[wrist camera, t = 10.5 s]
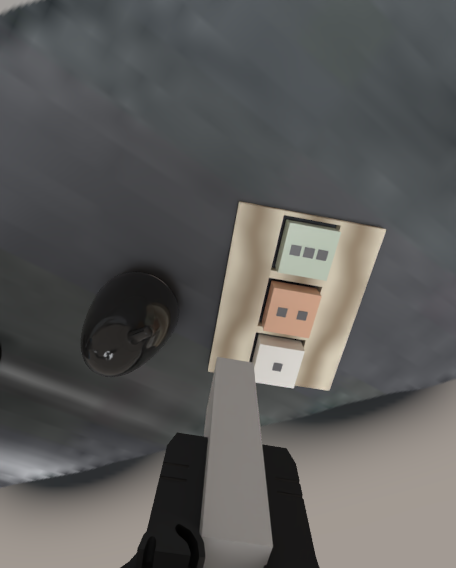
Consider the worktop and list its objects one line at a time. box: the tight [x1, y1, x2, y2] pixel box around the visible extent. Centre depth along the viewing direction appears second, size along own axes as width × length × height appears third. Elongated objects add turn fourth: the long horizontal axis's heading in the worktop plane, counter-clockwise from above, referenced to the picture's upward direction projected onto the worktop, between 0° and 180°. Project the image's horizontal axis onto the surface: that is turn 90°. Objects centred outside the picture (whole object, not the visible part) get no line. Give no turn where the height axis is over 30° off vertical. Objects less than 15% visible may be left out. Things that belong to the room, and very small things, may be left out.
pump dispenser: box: [81, 272, 179, 377], centre depth 35 cm, size 10×10×15 cm
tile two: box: [262, 280, 322, 338], centre depth 40 cm, size 6×6×3 cm
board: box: [208, 201, 386, 391], centre depth 42 cm, size 18×24×2 cm
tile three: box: [275, 219, 341, 281], centre depth 37 cm, size 6×6×3 cm
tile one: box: [252, 334, 305, 388], centre depth 43 cm, size 6×6×3 cm
